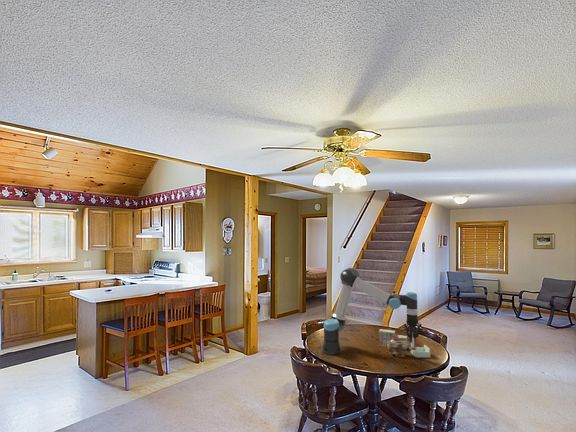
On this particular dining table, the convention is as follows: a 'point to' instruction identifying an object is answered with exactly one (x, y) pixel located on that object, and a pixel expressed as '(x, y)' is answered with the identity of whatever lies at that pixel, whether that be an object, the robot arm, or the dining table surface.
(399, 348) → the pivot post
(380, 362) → the dining table surface
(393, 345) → the mottled brown lumpy cluster
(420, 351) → the pale green open box
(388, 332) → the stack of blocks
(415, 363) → the dining table surface
